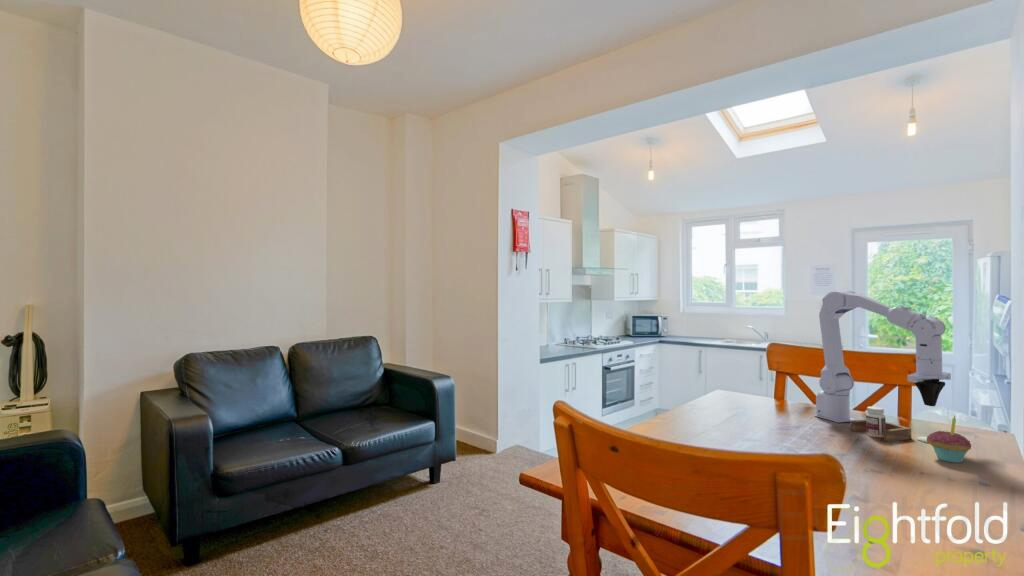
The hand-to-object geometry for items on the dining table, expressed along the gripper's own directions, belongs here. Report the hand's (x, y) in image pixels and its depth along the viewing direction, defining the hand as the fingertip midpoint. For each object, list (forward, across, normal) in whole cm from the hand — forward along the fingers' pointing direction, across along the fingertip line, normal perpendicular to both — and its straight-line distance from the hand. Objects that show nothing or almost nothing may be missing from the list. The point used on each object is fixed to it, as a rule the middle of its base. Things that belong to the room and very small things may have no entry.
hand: (929, 405), depth 138 cm
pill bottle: (+11, -9, +9) cm, 17 cm away
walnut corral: (+10, -8, +9) cm, 16 cm away
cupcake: (+11, -12, -12) cm, 20 cm away
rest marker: (+10, 0, 0) cm, 10 cm away
